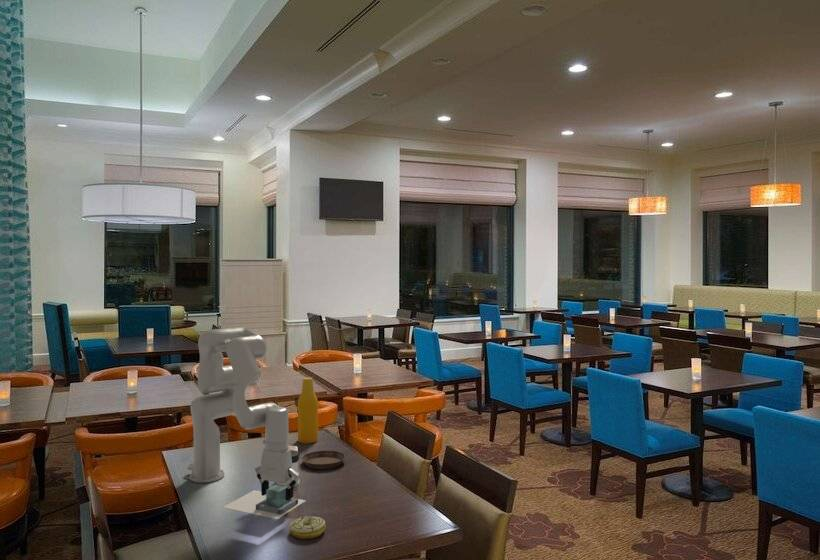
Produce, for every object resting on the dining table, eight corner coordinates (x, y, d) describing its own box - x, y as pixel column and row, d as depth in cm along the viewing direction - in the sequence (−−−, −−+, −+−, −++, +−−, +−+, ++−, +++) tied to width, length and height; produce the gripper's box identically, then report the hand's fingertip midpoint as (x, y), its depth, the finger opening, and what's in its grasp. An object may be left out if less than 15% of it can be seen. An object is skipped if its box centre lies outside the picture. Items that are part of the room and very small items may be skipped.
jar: (280, 491, 213) (280, 458, 212) (272, 484, 219) (272, 452, 219) (303, 486, 218) (303, 454, 217) (295, 479, 224) (295, 448, 224)
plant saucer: (308, 456, 252) (308, 449, 252) (349, 457, 251) (349, 450, 251) (296, 470, 235) (296, 463, 235) (340, 472, 233) (340, 464, 233)
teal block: (266, 507, 195) (266, 489, 195) (275, 502, 200) (275, 484, 199) (278, 510, 193) (278, 492, 193) (287, 504, 198) (287, 486, 197)
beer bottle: (307, 436, 280) (307, 375, 279) (322, 440, 274) (322, 377, 273) (293, 441, 272) (293, 378, 271) (307, 445, 267) (307, 381, 266)
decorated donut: (300, 523, 187) (300, 511, 187) (331, 528, 184) (331, 516, 184) (283, 537, 178) (283, 525, 177) (315, 543, 174) (315, 530, 174)
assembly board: (222, 511, 195) (222, 502, 195) (253, 494, 210) (253, 486, 210) (277, 523, 187) (277, 514, 186) (306, 504, 201) (306, 496, 201)
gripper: (248, 445, 196) (248, 496, 196) (292, 452, 189) (292, 505, 189) (262, 439, 203) (263, 488, 203) (305, 445, 196) (305, 496, 196)
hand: (277, 496), depth 196 cm, fingers open, 9 cm apart
